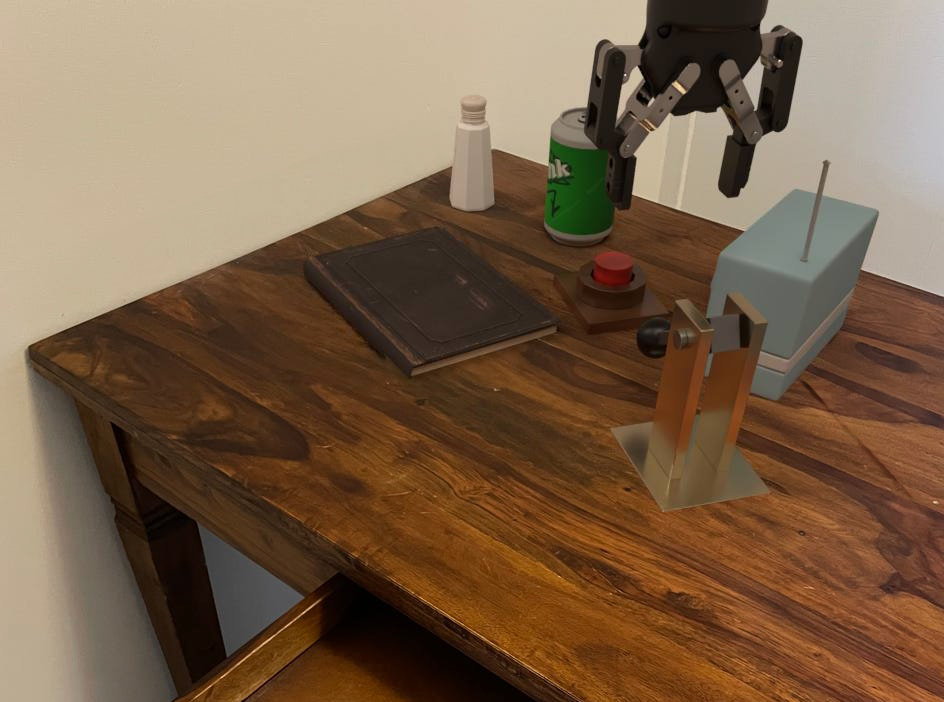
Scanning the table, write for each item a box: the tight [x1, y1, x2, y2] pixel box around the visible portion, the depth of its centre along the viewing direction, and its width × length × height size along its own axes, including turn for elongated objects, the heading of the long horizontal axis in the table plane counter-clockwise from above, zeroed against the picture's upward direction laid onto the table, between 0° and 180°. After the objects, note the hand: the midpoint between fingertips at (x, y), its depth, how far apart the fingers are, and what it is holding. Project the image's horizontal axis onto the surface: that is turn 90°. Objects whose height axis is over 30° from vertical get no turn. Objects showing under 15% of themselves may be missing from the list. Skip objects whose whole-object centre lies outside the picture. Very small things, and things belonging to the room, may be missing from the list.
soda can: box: [543, 106, 619, 247], centre depth 100 cm, size 8×8×12 cm
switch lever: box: [635, 314, 740, 360], centre depth 72 cm, size 13×3×3 cm
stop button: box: [593, 251, 634, 286], centre depth 89 cm, size 4×4×2 cm
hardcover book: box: [302, 224, 563, 380], centre depth 92 cm, size 16×23×2 cm
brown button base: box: [552, 259, 670, 336], centre depth 91 cm, size 10×8×4 cm
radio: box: [704, 159, 880, 402], centre depth 80 cm, size 16×9×20 cm, turn 145°
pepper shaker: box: [448, 94, 496, 213], centre depth 106 cm, size 5×5×11 cm
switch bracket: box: [609, 292, 772, 513], centre depth 71 cm, size 11×9×14 cm
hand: (674, 199), depth 69 cm, fingers open, 8 cm apart
